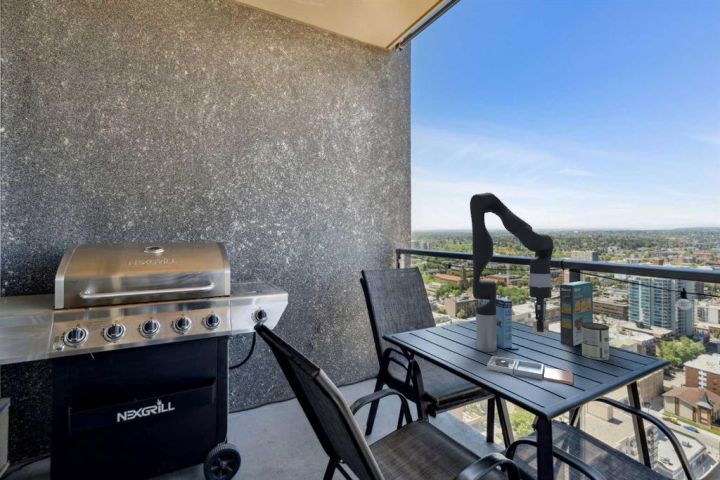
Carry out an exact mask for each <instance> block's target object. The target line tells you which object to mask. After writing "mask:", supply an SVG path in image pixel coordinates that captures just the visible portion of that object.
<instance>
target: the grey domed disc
mask: <svg viewBox="0 0 720 480" xmlns="http://www.w3.org/2000/svg"><path fill="white" fill-rule="evenodd" d="M496 366H502V367H509V361H507V360H504V359H496Z"/></svg>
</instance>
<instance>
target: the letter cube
mask: <svg viewBox="0 0 720 480" xmlns="http://www.w3.org/2000/svg"><path fill="white" fill-rule="evenodd" d="M549 321H550V319H545V320H544V321H543V323H544V330H543V331H538V330H537V320H536V319H535V318H533V319H532V335H539V336H546V337H547V336H549V332H550V331H549V330H550V325H549V323H550V322H549Z"/></svg>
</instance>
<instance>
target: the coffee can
mask: <svg viewBox="0 0 720 480" xmlns="http://www.w3.org/2000/svg"><path fill="white" fill-rule="evenodd" d="M581 326H582V343H581V355H582V356H583V357H584V358H587V359H592V360H596V361H608V360H609V359H610V330H609V329H610V326H609V325H607V324H604V323H600V322H599V323H598V322H593V323H590V322H586V323H581Z"/></svg>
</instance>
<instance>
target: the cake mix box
mask: <svg viewBox="0 0 720 480" xmlns="http://www.w3.org/2000/svg"><path fill="white" fill-rule="evenodd" d="M593 284H594V283H593V281H582V280H580V281H572V282H565V283H560V284H559V309H560V310H559V315H560V318H559V319H560V320H559V321H560V322H559V323H560V325H559V328H560V344H562V345H568V346H572V347H574V346H577V345H580V344H582V326H581V323H586V322H590V323H594V305H593V304H594V301H593V300H594V299H593V298H594V297H593V296H594V294H593V293H594V291H593V290H594V289H593Z"/></svg>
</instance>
